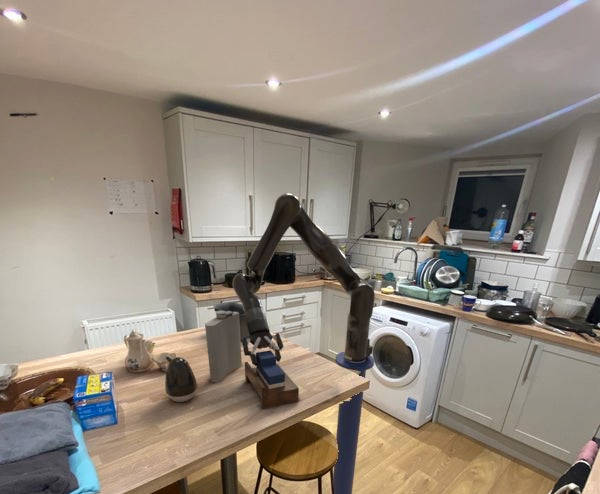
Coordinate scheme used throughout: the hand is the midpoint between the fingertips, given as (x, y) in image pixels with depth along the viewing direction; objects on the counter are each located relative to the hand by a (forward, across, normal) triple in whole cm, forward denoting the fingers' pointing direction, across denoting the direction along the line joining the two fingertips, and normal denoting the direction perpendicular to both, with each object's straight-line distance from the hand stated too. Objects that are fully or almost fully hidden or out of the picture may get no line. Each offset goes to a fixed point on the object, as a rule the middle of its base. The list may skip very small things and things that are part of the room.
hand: (267, 363), depth 119 cm
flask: (-5, -12, +19) cm, 23 cm away
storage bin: (-31, +1, +46) cm, 55 cm away
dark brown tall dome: (+4, -30, +10) cm, 31 cm away
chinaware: (-18, -40, +32) cm, 54 cm away
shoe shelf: (+9, 0, +5) cm, 10 cm away
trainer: (+5, 0, +2) cm, 5 cm away
